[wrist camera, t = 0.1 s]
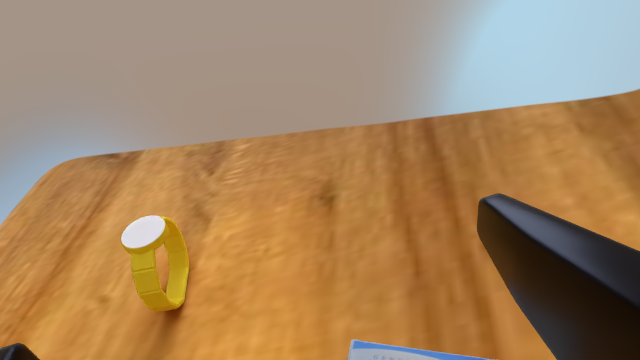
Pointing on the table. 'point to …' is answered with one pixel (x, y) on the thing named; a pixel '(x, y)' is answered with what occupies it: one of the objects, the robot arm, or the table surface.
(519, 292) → the robot arm
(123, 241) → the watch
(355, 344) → the medicine box
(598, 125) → the table surface
